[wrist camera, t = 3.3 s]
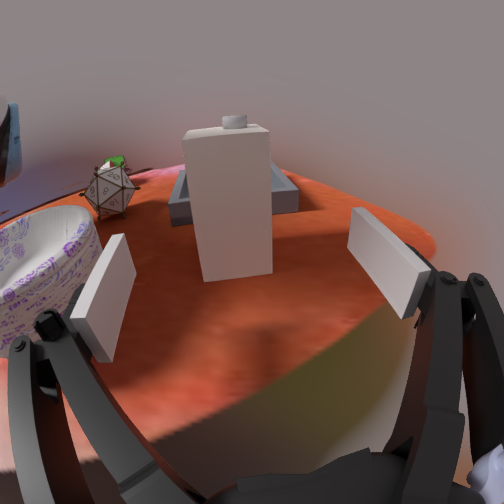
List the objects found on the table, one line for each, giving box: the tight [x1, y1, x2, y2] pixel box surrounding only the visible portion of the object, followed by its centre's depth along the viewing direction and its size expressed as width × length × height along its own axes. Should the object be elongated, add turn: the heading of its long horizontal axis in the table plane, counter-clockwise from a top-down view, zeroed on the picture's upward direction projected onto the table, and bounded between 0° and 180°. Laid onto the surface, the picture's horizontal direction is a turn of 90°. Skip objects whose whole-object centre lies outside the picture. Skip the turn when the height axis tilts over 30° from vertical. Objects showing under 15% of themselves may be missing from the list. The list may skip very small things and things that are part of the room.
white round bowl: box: [0, 205, 103, 359], centre depth 17 cm, size 15×15×8 cm
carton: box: [182, 115, 273, 282], centre depth 23 cm, size 6×6×13 cm
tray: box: [168, 161, 299, 226], centre depth 40 cm, size 16×16×3 cm
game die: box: [79, 161, 141, 221], centre depth 36 cm, size 9×8×10 cm
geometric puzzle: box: [101, 155, 132, 175], centre depth 50 cm, size 7×7×8 cm
